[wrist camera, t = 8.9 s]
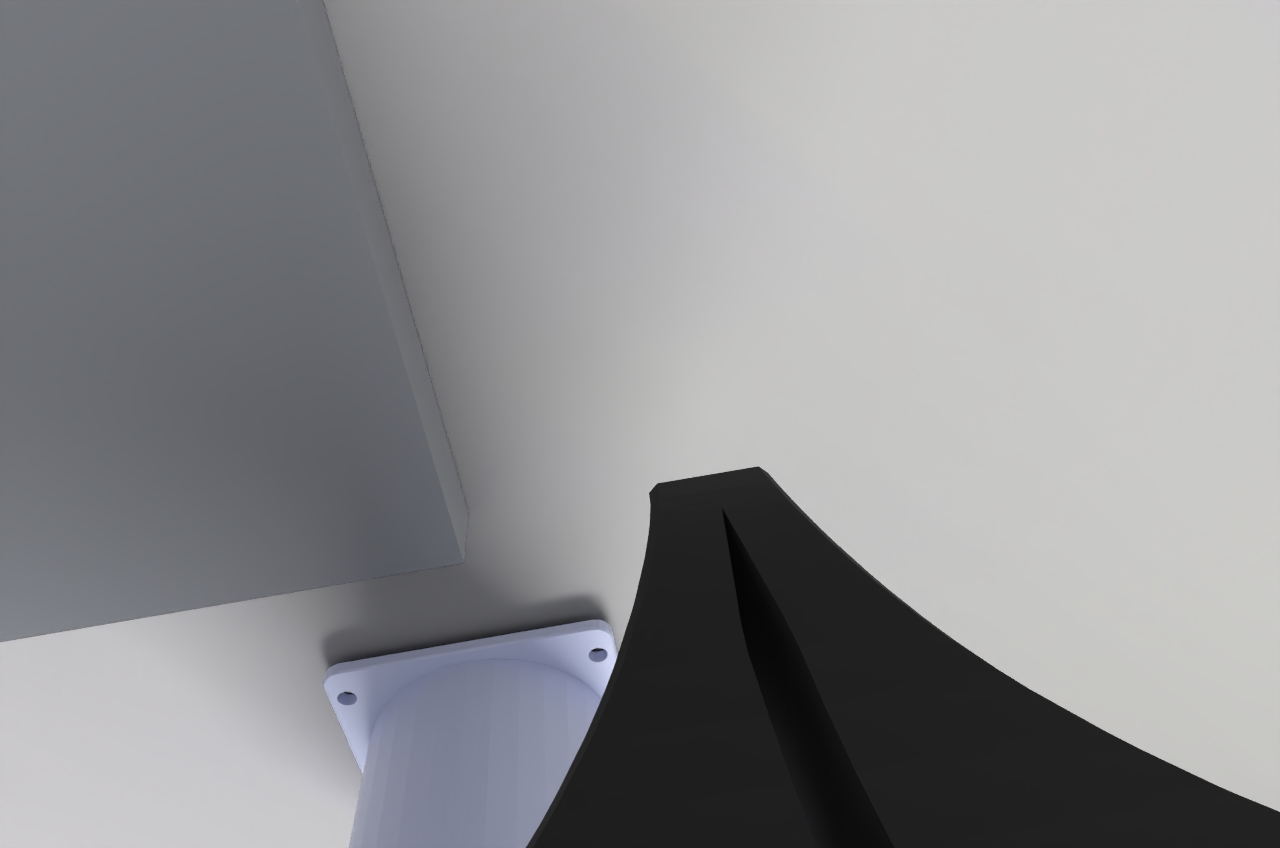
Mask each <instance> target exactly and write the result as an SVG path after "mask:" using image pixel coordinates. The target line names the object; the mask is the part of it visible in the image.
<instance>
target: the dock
mask: <svg viewBox="0 0 1280 848" xmlns="http://www.w3.org/2000/svg"><path fill="white" fill-rule="evenodd" d="M468 518H469V512H468V508H467V505H466V501H465V498H464V494H463V491H462V487H461V484H460V480H459V476H458V473H457V469H456V466H455V462H454V459H453V455H452V452H451V448H450V445H449V441H448V438H447V434H446V431H445V427H444V424H443V420H442V417H441V413H440V410H439V406H438V403H437V399H436V396H435V392H434V389H433V385H432V382H431V378H430V375H429V371H428V368H427V364H426V361H425V357H424V354H423V350H422V347H421V343H420V340H419V336H418V333H417V329H416V325H415V322H414V318H413V315H412V311H411V308H410V304H409V301H408V297H407V294H406V290H405V287H404V283H403V280H402V276H401V273H400V269H399V266H398V262H397V259H396V255H395V252H394V248H393V245H392V241H391V238H390V234H389V231H388V227H387V224H386V220H385V217H384V213H383V210H382V206H381V203H380V199H379V196H378V192H377V189H376V185H375V182H374V178H373V174H372V171H371V167H370V164H369V160H368V157H367V153H366V150H365V146H364V143H363V139H362V136H361V132H360V129H359V125H358V122H357V118H356V115H355V111H354V108H353V104H352V101H351V97H350V94H349V90H348V87H347V83H346V80H345V76H344V73H343V69H342V66H341V62H340V59H339V55H338V52H337V48H336V45H335V41H334V38H333V34H332V31H331V27H330V23H329V20H328V16H327V13H326V9H325V6H324V2H323V0H0V642H4V641H10V640H16V639H22V638H28V637H34V636H40V635H45V634H51V633H57V632H63V631H69V630H75V629H81V628H86V627H92V626H98V625H104V624H110V623H116V622H122V621H128V620H133V619H139V618H145V617H151V616H157V615H163V614H169V613H174V612H180V611H186V610H192V609H198V608H204V607H210V606H216V605H221V604H227V603H233V602H239V601H245V600H251V599H257V598H262V597H268V596H274V595H280V594H286V593H292V592H298V591H304V590H309V589H315V588H321V587H327V586H333V585H339V584H345V583H350V582H356V581H362V580H368V579H374V578H380V577H386V576H392V575H397V574H403V573H409V572H415V571H421V570H427V569H433V568H438V567H444V566H450V565H456V564H462V563H464V557H465V547H466V538H467V528H468Z"/></svg>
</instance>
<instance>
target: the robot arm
mask: <svg viewBox="0 0 1280 848" xmlns="http://www.w3.org/2000/svg"><path fill="white" fill-rule="evenodd" d="M649 495H650V504H651V510H650V527H649V536H648V542H647V548H646V554H645V560H644V564H643V568H642V573H641V577H640V581H639V585H638V590H637V594H636V598H635V602H634V606H633V609H632V613H631V616H630V619H629V622H628V625H627V628H626V631H625V635H624V638H623V641H622V644H621V647H620V650H619V653H618V656H617V651H616V646H615V641H614V636H613V631H612V628H611V626H610V625H609V624H608V623H606V622H605V621H602V620H588V621H582V622H576V623H570V624H564V625H559V626H553V627H547V628H541V629H535V630H530V631H524V632H518V633H512V634H506V635H501V636H495V637H489V638H483V639H477V640H472V641H466V642H460V643H454V644H448V645H443V646H437V647H431V648H425V649H419V650H414V651H408V652H402V653H396V654H390V655H385V656H379V657H373V658H367V659H361V660H356V661H350V662H344V663H338V664H335V665H332V666H331V667H330V668H329V669H327V671H326V674H325V677H324V681H323V686H324V689H325V691H326V694H327V696H328V698H329V701H330V703H331V705H332V707H333V710H334V712H335V714H336V716H337V719H338V721H339V723H340V725H341V728H342V730H343V732H344V734H345V737H346V739H347V741H348V743H349V746H350V748H351V750H352V752H353V755H354V757H355V759H356V762H357V764H358V766H359V768H360V771H361V773H362V775H363V777H362V782H361V787H360V792H359V797H358V803H357V808H356V813H355V818H354V823H353V829H352V834H351V839H350V844H349V848H1280V812H1279V811H1276V810H1274V809H1271V808H1269V807H1266V806H1264V805H1261V804H1259V803H1257V802H1254V801H1252V800H1249V799H1247V798H1244V797H1242V796H1239V795H1237V794H1235V793H1232V792H1230V791H1228V790H1226V789H1223V788H1221V787H1219V786H1217V785H1214V784H1212V783H1210V782H1208V781H1206V780H1204V779H1202V778H1200V777H1197V776H1195V775H1193V774H1191V773H1189V772H1187V771H1185V770H1183V769H1181V768H1178V767H1176V766H1174V765H1172V764H1170V763H1168V762H1166V761H1164V760H1162V759H1159V758H1157V757H1155V756H1153V755H1151V754H1149V753H1147V752H1145V751H1143V750H1141V749H1139V748H1137V747H1135V746H1133V745H1131V744H1129V743H1127V742H1125V741H1123V740H1121V739H1119V738H1117V737H1115V736H1113V735H1111V734H1109V733H1107V732H1106V731H1104V730H1102V729H1100V728H1098V727H1097V726H1095V725H1093V724H1091V723H1089V722H1088V721H1086V720H1084V719H1082V718H1080V717H1079V716H1077V715H1075V714H1073V713H1071V712H1070V711H1068V710H1066V709H1064V708H1062V707H1061V706H1059V705H1057V704H1055V703H1053V702H1052V701H1050V700H1048V699H1046V698H1044V697H1043V696H1041V695H1039V694H1037V693H1035V692H1034V691H1032V690H1030V689H1028V688H1027V687H1025V686H1023V685H1022V684H1020V683H1019V682H1017V681H1015V680H1014V679H1012V678H1011V677H1009V676H1007V675H1006V674H1004V673H1003V672H1001V671H999V670H998V669H996V668H995V667H993V666H992V665H990V664H989V663H987V662H986V661H984V660H983V659H981V658H980V657H978V656H977V655H975V654H974V653H972V652H971V651H969V650H968V649H966V648H965V647H964V646H962V645H961V644H959V643H958V642H956V641H955V640H954V639H952V638H951V637H949V636H948V635H947V634H945V633H944V632H942V631H941V630H940V629H938V628H937V627H936V626H934V625H933V624H932V623H930V622H929V621H928V620H926V619H925V618H924V617H922V616H921V615H920V614H918V613H917V612H916V611H915V610H913V609H912V608H911V607H910V606H908V605H907V604H906V603H905V602H903V601H902V600H901V599H900V598H898V597H897V596H896V595H895V594H893V593H892V592H891V591H890V590H888V589H887V588H886V587H885V586H884V585H882V584H881V583H880V582H879V581H878V580H876V579H875V578H874V577H873V576H872V575H871V574H869V573H868V572H867V571H866V570H865V569H864V568H863V567H862V566H860V565H859V564H858V563H857V562H856V561H855V560H854V559H853V558H852V557H850V556H849V555H848V554H847V553H846V552H845V551H844V550H843V549H842V548H841V547H839V546H838V545H837V544H836V543H835V542H834V541H833V540H832V539H831V538H830V537H829V536H828V535H827V534H826V533H824V532H823V531H822V530H821V529H820V528H819V527H818V526H817V525H816V524H815V523H814V522H813V521H812V520H811V519H810V518H809V517H808V516H807V515H806V514H805V513H804V512H803V511H802V510H801V509H800V508H799V507H798V505H797V504H796V503H795V502H794V501H793V500H792V499H791V498H790V497H789V496H788V495H787V494H786V493H785V492H784V491H783V489H782V488H781V487H780V486H779V485H778V484H777V483H776V482H775V481H774V479H773V478H772V477H771V476H770V475H769V474H768V473H767V472H766V471H764V470H763V469H762V468H760V467H753V468H747V469H741V470H735V471H729V472H723V473H717V474H711V475H705V476H699V477H693V478H687V479H681V480H675V481H669V482H663V483H658V484H657V485H656V486H655V487H654V488H653V489H652V490H651V492H650V493H649ZM596 648H602V649H604V650H602V651H600V652H593V651H591V650H593V649H596ZM343 692H351V693H353V694H345V693H343Z"/></svg>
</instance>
